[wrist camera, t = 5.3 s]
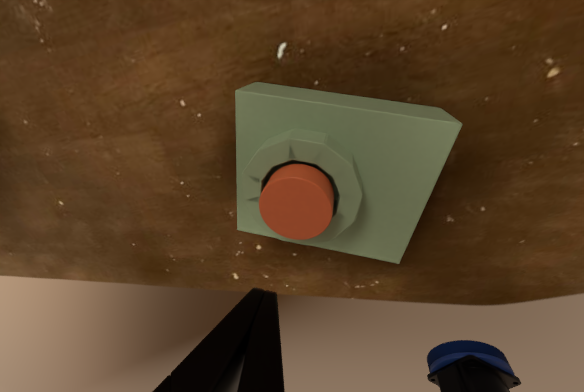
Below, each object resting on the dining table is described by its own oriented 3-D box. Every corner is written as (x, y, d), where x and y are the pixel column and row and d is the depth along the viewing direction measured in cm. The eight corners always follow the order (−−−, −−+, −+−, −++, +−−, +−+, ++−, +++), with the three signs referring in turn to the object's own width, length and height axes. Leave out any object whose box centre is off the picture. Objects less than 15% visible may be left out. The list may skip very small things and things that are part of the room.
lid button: (340, 170, 14) (339, 185, 12) (327, 227, 16) (325, 246, 14) (268, 157, 14) (259, 170, 13) (265, 215, 16) (257, 232, 15)
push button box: (441, 107, 16) (478, 134, 11) (391, 231, 21) (403, 284, 17) (255, 81, 17) (220, 95, 13) (252, 204, 22) (227, 246, 18)
